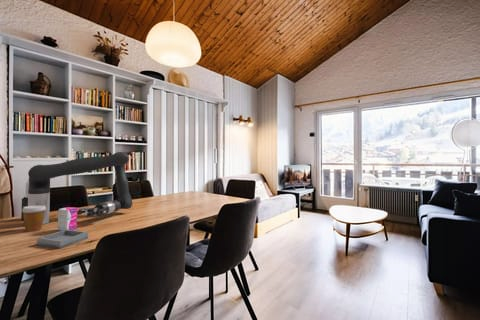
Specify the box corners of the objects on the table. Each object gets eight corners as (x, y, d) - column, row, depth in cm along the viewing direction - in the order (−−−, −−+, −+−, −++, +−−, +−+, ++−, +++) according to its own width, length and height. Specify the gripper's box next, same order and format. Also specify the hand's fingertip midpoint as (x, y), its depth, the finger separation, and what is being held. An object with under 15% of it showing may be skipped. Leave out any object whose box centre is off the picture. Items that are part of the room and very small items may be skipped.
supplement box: (66, 232, 116) (67, 209, 116) (57, 231, 117) (57, 209, 117) (77, 228, 121) (77, 207, 121) (68, 228, 123) (68, 206, 123)
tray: (37, 245, 98) (37, 238, 98) (66, 235, 111) (66, 229, 111) (60, 248, 95) (60, 241, 95) (88, 238, 108) (88, 232, 108)
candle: (36, 218, 138) (37, 177, 138) (25, 220, 133) (26, 178, 133) (30, 217, 140) (31, 177, 140) (20, 219, 135) (21, 177, 135)
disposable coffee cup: (44, 230, 117) (45, 207, 117) (19, 233, 112) (19, 209, 112) (47, 226, 125) (47, 204, 125) (23, 228, 119) (24, 205, 119)
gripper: (95, 201, 144) (71, 206, 128) (114, 203, 141) (91, 208, 125) (95, 213, 144) (70, 219, 128) (114, 215, 141) (91, 222, 125)
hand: (81, 214), depth 127 cm, fingers open, 8 cm apart
